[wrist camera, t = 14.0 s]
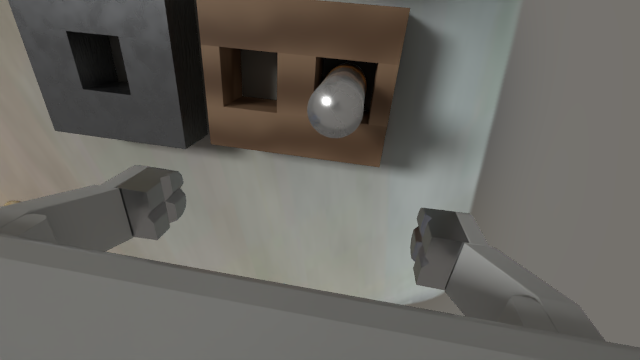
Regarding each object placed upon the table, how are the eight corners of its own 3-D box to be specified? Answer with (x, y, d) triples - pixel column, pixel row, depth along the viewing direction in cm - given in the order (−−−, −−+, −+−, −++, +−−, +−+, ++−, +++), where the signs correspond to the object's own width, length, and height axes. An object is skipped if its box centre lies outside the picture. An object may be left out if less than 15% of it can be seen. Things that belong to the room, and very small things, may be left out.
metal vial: (329, 59, 31) (307, 77, 20) (370, 63, 30) (369, 84, 20) (325, 100, 33) (304, 135, 22) (363, 104, 32) (359, 143, 22)
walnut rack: (221, -5, 30) (195, -10, 25) (404, 10, 28) (410, 8, 23) (230, 129, 36) (210, 144, 32) (378, 149, 34) (379, 167, 30)
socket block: (47, -31, 31) (-7, -40, 27) (191, -19, 29) (160, -27, 25) (91, 118, 38) (55, 130, 34) (207, 134, 37) (185, 149, 33)
